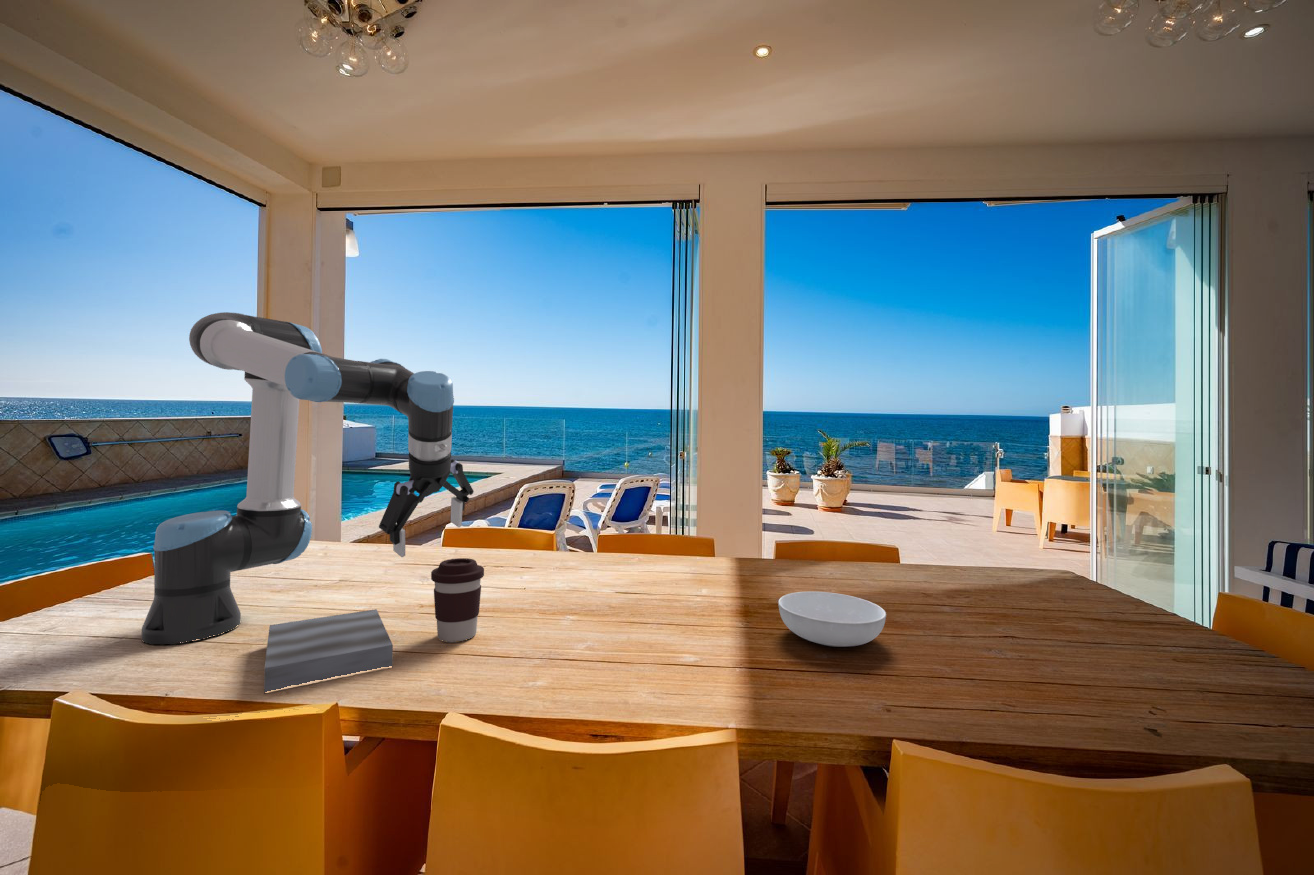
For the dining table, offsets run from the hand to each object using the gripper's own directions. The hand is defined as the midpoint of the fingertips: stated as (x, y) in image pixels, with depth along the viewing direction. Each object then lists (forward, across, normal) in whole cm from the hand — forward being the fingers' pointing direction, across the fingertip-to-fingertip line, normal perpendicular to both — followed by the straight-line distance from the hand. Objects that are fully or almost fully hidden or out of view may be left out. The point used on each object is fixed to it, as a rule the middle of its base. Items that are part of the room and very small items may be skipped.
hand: (429, 538), depth 113 cm
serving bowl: (-1, +36, -77) cm, 85 cm away
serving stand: (+11, -24, -4) cm, 27 cm away
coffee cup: (+13, -5, -16) cm, 21 cm away
